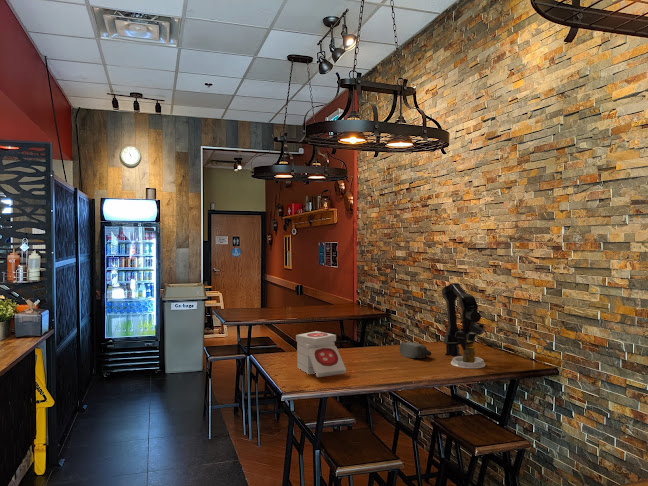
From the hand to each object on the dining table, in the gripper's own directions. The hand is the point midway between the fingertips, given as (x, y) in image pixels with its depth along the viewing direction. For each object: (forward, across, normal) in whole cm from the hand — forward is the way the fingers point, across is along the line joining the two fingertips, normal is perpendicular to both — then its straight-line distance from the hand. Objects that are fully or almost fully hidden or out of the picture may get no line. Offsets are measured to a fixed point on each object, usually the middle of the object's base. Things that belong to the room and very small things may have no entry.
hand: (467, 348), depth 264 cm
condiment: (+8, -1, 0) cm, 8 cm away
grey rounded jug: (+9, -2, +32) cm, 33 cm away
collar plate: (+8, 0, 0) cm, 8 cm away
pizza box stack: (+9, -60, +53) cm, 80 cm away
